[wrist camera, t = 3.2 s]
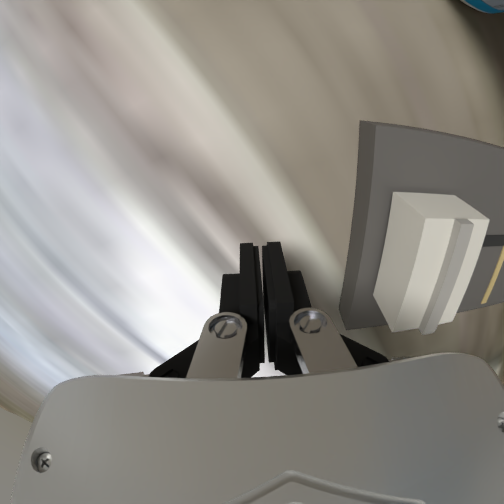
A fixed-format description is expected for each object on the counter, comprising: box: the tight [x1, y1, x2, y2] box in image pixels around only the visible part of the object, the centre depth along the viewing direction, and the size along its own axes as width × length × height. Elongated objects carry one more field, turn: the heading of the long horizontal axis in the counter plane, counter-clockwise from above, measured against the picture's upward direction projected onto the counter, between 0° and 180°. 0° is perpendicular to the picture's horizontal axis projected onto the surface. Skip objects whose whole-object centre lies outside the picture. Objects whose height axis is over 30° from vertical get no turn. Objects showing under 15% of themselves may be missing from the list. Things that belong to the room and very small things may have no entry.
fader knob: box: [373, 192, 489, 335], centre depth 12 cm, size 4×6×4 cm, turn 2°
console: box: [339, 121, 504, 330], centre depth 15 cm, size 20×12×2 cm, turn 92°
